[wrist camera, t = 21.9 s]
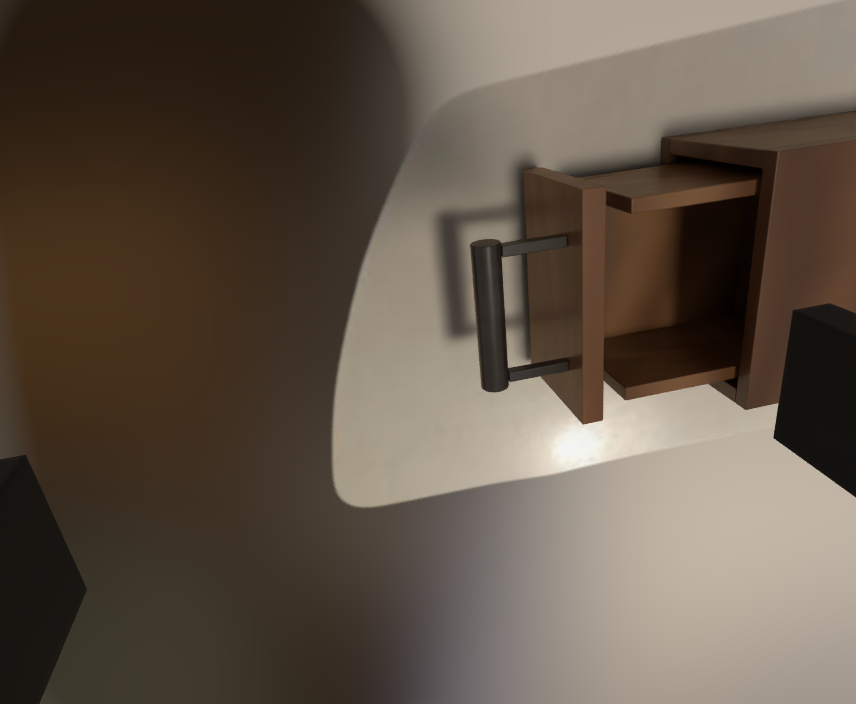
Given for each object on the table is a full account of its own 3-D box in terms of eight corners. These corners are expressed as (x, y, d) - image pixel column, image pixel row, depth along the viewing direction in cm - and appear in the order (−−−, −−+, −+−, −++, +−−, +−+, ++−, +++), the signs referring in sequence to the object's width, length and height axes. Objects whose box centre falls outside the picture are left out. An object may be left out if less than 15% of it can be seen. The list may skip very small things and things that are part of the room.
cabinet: (651, 344, 42) (745, 410, 34) (661, 137, 37) (778, 151, 28) (848, 307, 45) (985, 359, 36) (886, 106, 39) (1060, 110, 30)
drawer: (458, 380, 39) (495, 443, 32) (439, 181, 34) (478, 204, 27) (730, 328, 42) (819, 375, 35) (750, 137, 37) (860, 148, 30)
